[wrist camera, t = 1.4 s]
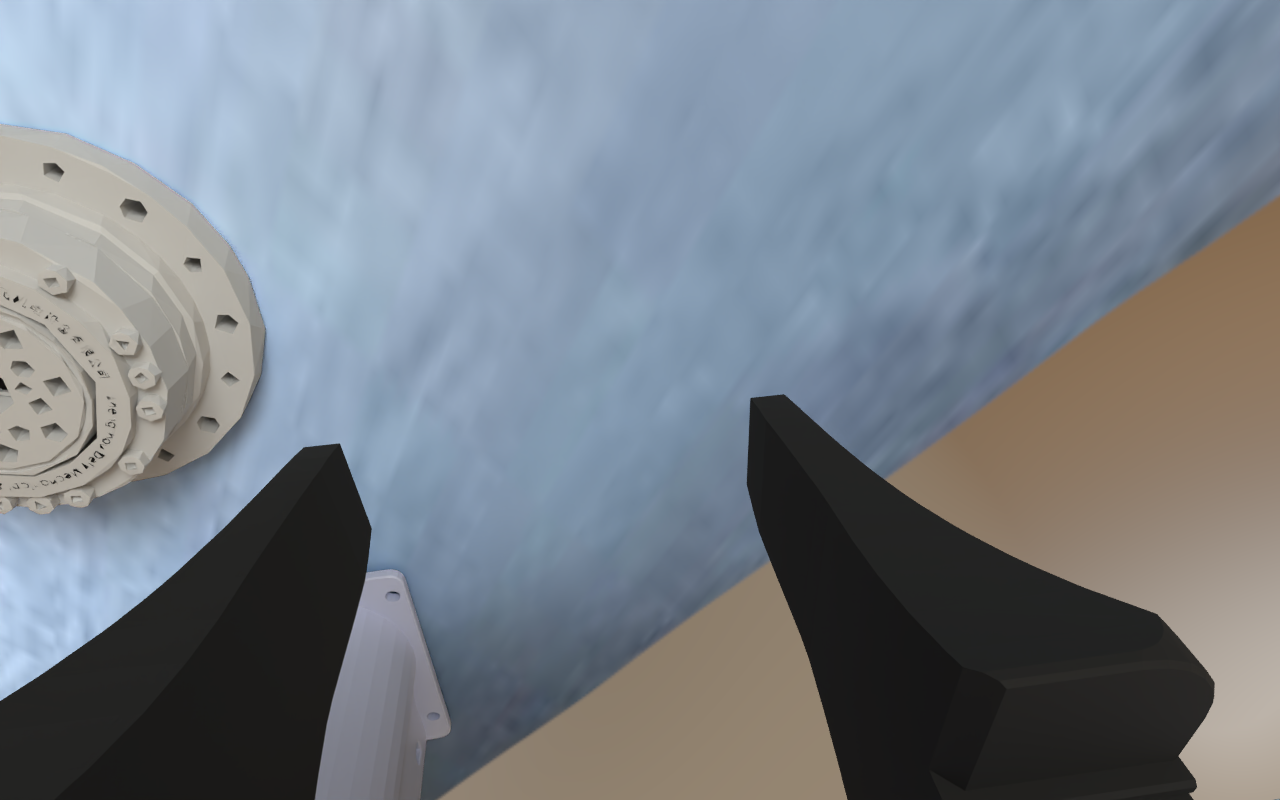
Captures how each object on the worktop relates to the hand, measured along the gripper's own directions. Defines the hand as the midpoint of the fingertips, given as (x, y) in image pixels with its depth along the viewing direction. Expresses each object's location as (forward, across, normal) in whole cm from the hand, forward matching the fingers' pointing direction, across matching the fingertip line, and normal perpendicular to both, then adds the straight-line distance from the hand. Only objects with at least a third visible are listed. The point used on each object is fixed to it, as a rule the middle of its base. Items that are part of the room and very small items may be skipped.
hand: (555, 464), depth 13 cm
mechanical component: (+10, +13, 0) cm, 16 cm away
